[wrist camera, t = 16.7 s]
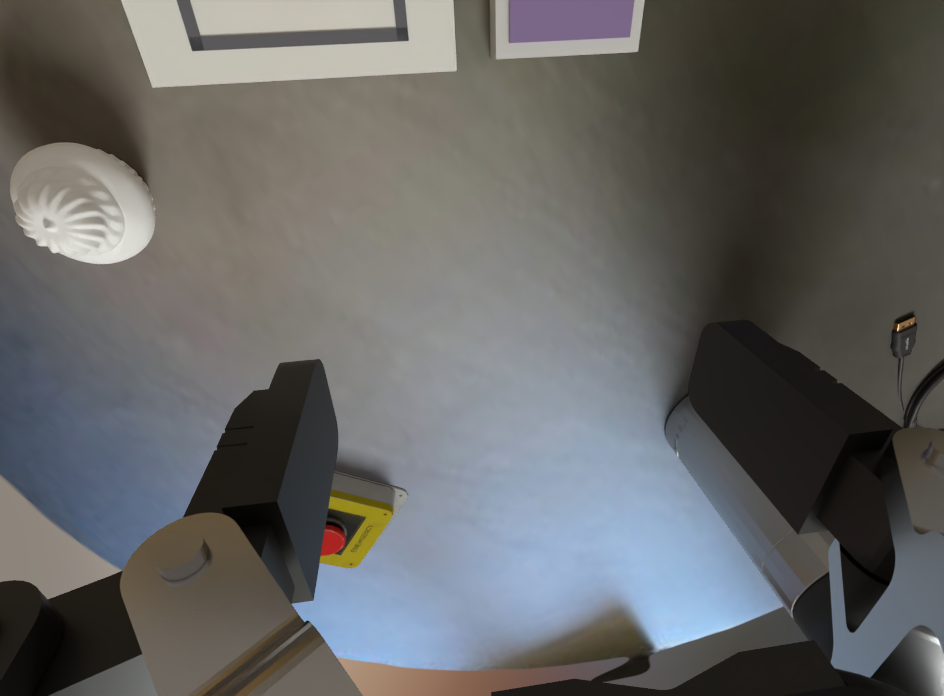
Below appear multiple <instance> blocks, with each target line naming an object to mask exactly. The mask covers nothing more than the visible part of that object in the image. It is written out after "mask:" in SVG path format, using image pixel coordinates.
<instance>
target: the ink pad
mask: <svg viewBox="0 0 944 696" xmlns="http://www.w3.org/2000/svg"><path fill="white" fill-rule="evenodd" d="M644 1H645V0H490V58H491V59H511V58H531V57H550V56H569V55H588V54H607V53H626V52H638V47H639V39H640V31H641V24H642V16H643V8H644Z"/></svg>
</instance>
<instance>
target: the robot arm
mask: <svg viewBox="0 0 944 696" xmlns="http://www.w3.org/2000/svg"><path fill="white" fill-rule="evenodd" d="M688 392H689V395H688V396H687V397H686V398H684V399H683V400H682V401H681V402H680V403H679V404H678V405H677V406H676V407H675V409H674V410H673V411H672V413H671V415H670V416H669V418H668V421H667V424H666V429H665V434H666V439H667V441H668V443H669V444H670V446H671V447H672V449H673V450H674V451H675V453H676V455H677V456H678V457H679V459H680V460H681V461H682V463H683V464H684V466H685V467H686V468H687V470H688V471H689V473H690V474H691V476H692V477H693V479H694V480H695V481H696V483H697V484H698V486H699V487H700V488H701V490H702V491H703V493H704V494H705V495H706V497H707V498H708V500H709V501H710V503H711V504H712V505H713V507H714V508H715V510H716V511H717V512H718V514H719V515H720V517H721V518H722V519H723V521H724V522H725V524H726V525H727V527H728V528H729V529H730V531H731V532H732V534H733V535H734V536H735V538H736V539H737V541H738V542H739V543H740V545H741V546H742V548H743V549H744V550H745V552H746V553H747V555H748V556H749V558H750V559H751V560H752V562H753V563H754V565H755V566H756V567H757V569H758V570H759V572H760V573H761V574H762V576H763V577H764V578H765V580H766V581H767V583H768V584H769V586H770V587H771V588H772V590H773V591H774V593H775V594H776V595H777V597H778V598H779V600H780V601H781V602H782V604H783V605H784V607H785V608H786V610H787V611H788V612H789V614H790V615H791V617H792V618H793V619H794V621H795V622H796V624H797V625H798V626H799V628H800V629H801V631H802V632H803V633H804V635H805V636H806V638H807V639H808V641H805V642H799V643H792V644H786V645H780V646H774V647H768V648H762V649H755V650H750V651H743V652H738V653H737V654H735V655H733V656H731V657H729V658H728V659H726V660H724V661H722V662H720V663H719V664H717V665H715V666H713V667H711V668H710V669H708V670H706V671H704V672H703V673H701V674H699V675H697V676H695V677H694V678H692V679H690V680H688V681H687V682H685V683H683V684H682V685H679V686H678V687H676V688H673V689H670V690H655V689H648V688H640V687H632V686H625V685H617V684H610V683H602V682H595V681H587V680H579V679H571V680H564V681H558V682H552V683H546V684H540V685H534V686H527V687H521V688H515V689H509V690H503V691H497V692H492V693H491V696H944V431H941V430H936V429H931V428H923V427H911V428H905V429H903V428H902V427H900V426H899V425H898V424H896V423H895V422H894V421H892V420H891V419H889V418H888V417H887V416H885V415H884V414H883V413H881V412H880V411H879V410H877V409H876V408H875V407H873V406H872V405H870V404H869V403H868V402H866V401H865V400H864V399H862V398H861V397H860V396H858V395H857V394H856V393H854V392H853V391H852V390H850V389H849V388H847V387H846V386H845V385H843V384H842V383H839V384H838V383H837V379H835V378H834V377H833V376H831V375H830V374H828V373H827V372H826V371H824V370H822V371H821V370H820V367H819V366H818V365H816V364H815V363H814V362H812V361H811V360H810V359H808V358H807V357H805V356H804V355H803V354H801V353H800V352H798V351H796V350H794V349H791V348H789V347H787V346H785V345H783V344H780V343H778V342H777V341H776V340H774V339H773V338H772V337H770V336H769V335H768V334H766V333H765V332H764V331H762V330H761V329H760V328H758V327H757V326H756V325H754V324H753V323H752V322H750V321H748V320H737V321H726V322H716V323H709V324H707V325H706V326H705V327H704V329H703V331H702V333H701V337H700V341H699V345H698V349H697V352H696V356H695V360H694V364H693V368H692V372H691V376H690V380H689V386H688ZM337 451H338V427H337V421H336V416H335V412H334V408H333V404H332V399H331V395H330V391H329V387H328V383H327V378H326V374H325V370H324V367H323V364H322V362H321V360H320V359H316V360H305V361H295V362H284V363H280V364H279V365H278V367H277V370H276V372H275V375H274V377H273V380H272V382H271V385H270V387H269V389H267V390H257V391H253V392H252V393H251V394H250V395H249V396H248V397H247V398H246V399H245V400H244V401H243V402H241V403H240V404H239V405H238V406H237V407H236V408H235V409H234V411H233V413H232V415H231V417H230V420H229V422H228V424H227V426H226V428H225V433H223V434H222V436H221V439H220V441H219V443H218V445H217V450H216V451H214V453H213V455H212V457H211V460H210V462H209V464H208V466H207V468H206V470H205V472H204V474H203V476H202V479H201V481H200V483H199V485H198V487H197V489H196V491H195V493H194V495H193V497H192V500H191V502H190V504H189V506H188V508H187V510H186V512H185V514H184V516H183V518H181V519H179V520H176V521H174V522H172V523H170V524H168V525H166V526H165V527H163V528H162V529H160V530H158V531H157V532H156V533H154V534H153V535H152V536H150V537H149V538H148V539H147V540H146V541H144V542H143V543H142V544H141V545H140V546H139V547H138V549H137V550H136V551H135V552H134V553H133V554H132V556H131V557H130V559H129V560H128V562H127V564H126V566H125V568H124V570H123V571H121V572H118V573H116V574H114V575H111V576H109V577H106V578H104V579H101V580H98V581H96V582H93V583H91V584H88V585H85V586H83V587H80V588H77V589H75V590H72V591H70V592H67V593H64V594H62V595H59V596H56V597H54V598H51V599H48V600H47V599H46V597H45V596H44V595H43V594H42V593H41V592H40V591H39V590H38V588H37V587H36V586H34V585H33V584H31V583H29V582H25V581H15V580H13V581H4V582H0V696H363V695H362V694H361V693H360V691H359V690H358V688H357V687H356V685H355V684H354V682H353V681H352V679H351V678H350V677H349V675H348V674H347V672H346V671H345V669H344V668H343V666H342V665H341V663H340V662H339V661H338V659H337V658H336V656H335V655H334V653H333V652H332V650H331V649H330V647H329V646H328V645H327V643H326V642H325V640H324V639H323V637H322V636H321V635H320V633H319V632H318V631H317V629H316V628H315V627H314V626H313V625H312V624H311V623H310V622H309V621H306V622H304V621H303V620H302V619H301V617H300V616H299V615H298V613H297V612H296V610H295V609H294V607H293V606H292V603H299V602H306V601H313V600H314V593H315V587H316V581H317V575H318V569H319V563H320V556H321V550H322V544H323V538H324V532H325V525H326V519H327V513H328V507H329V501H330V495H331V488H332V482H333V476H334V470H335V464H336V458H337Z"/></svg>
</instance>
